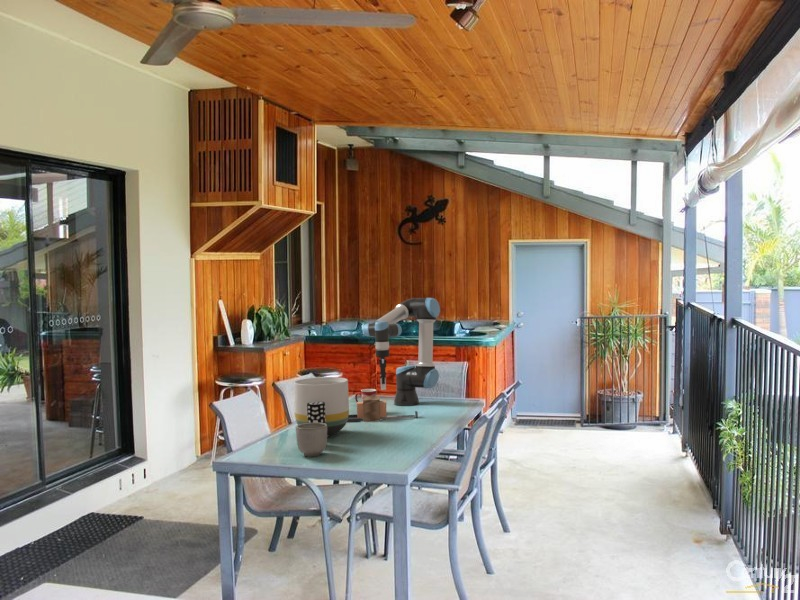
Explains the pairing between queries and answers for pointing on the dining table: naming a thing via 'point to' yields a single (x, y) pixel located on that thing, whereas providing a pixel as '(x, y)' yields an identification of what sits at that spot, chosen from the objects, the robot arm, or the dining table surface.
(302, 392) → the planter
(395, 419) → the pad
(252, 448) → the dining table surface
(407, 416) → the track
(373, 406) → the open box
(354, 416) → the dark grey tray
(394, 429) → the dining table surface
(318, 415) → the white-spotted black cylinder
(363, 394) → the mug
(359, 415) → the block
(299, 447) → the planter
